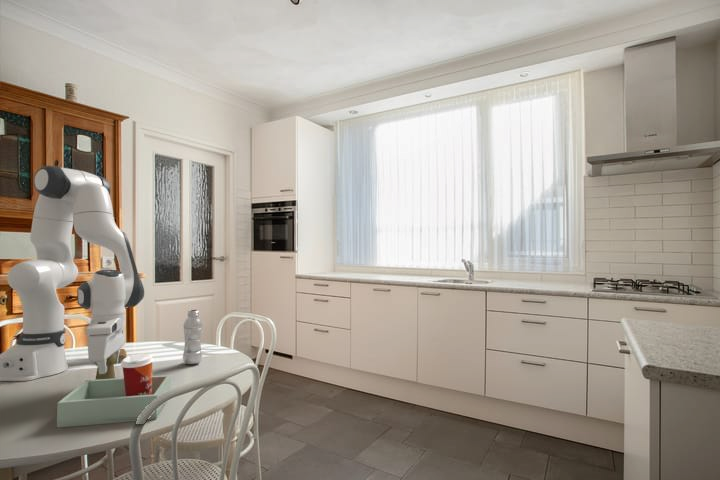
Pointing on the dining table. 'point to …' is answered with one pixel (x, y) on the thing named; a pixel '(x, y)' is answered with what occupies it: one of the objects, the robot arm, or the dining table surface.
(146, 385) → the paper cup
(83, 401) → the pale green tray
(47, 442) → the dining table surface
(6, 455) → the dining table surface
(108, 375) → the cork
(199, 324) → the plastic bottle
